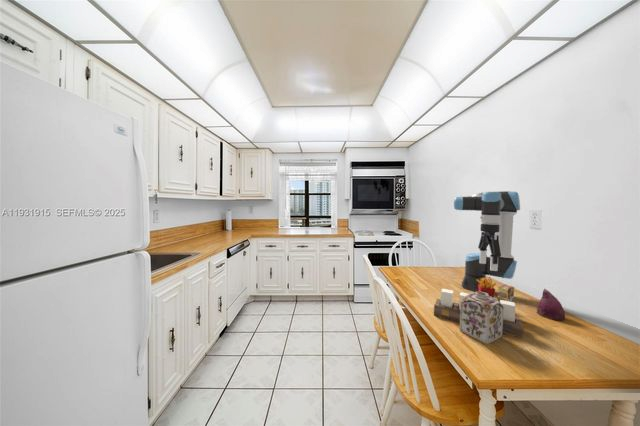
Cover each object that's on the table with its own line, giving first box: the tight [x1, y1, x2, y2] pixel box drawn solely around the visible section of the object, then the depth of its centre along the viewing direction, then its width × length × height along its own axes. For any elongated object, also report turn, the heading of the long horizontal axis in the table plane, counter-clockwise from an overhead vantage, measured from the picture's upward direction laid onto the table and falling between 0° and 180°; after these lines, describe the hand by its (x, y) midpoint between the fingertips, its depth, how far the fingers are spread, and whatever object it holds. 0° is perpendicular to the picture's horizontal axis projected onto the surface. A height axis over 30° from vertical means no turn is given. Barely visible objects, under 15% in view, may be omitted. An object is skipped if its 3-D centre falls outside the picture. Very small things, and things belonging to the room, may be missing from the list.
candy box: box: [496, 284, 515, 302], centre depth 119 cm, size 9×4×15 cm, turn 123°
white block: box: [458, 291, 469, 310], centre depth 116 cm, size 5×5×7 cm
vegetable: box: [536, 288, 566, 322], centre depth 122 cm, size 10×10×15 cm
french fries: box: [476, 276, 497, 298], centre depth 136 cm, size 9×8×15 cm
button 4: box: [500, 300, 517, 322], centre depth 107 cm, size 5×5×7 cm
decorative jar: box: [459, 291, 504, 345], centre depth 102 cm, size 12×12×18 cm
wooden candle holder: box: [433, 298, 524, 338], centre depth 114 cm, size 10×34×5 cm, turn 56°
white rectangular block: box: [440, 288, 454, 308], centre depth 121 cm, size 5×5×7 cm
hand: (487, 266), depth 117 cm, fingers open, 13 cm apart
